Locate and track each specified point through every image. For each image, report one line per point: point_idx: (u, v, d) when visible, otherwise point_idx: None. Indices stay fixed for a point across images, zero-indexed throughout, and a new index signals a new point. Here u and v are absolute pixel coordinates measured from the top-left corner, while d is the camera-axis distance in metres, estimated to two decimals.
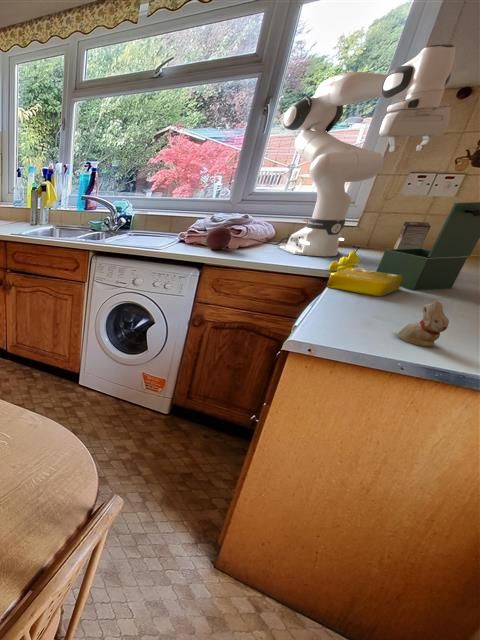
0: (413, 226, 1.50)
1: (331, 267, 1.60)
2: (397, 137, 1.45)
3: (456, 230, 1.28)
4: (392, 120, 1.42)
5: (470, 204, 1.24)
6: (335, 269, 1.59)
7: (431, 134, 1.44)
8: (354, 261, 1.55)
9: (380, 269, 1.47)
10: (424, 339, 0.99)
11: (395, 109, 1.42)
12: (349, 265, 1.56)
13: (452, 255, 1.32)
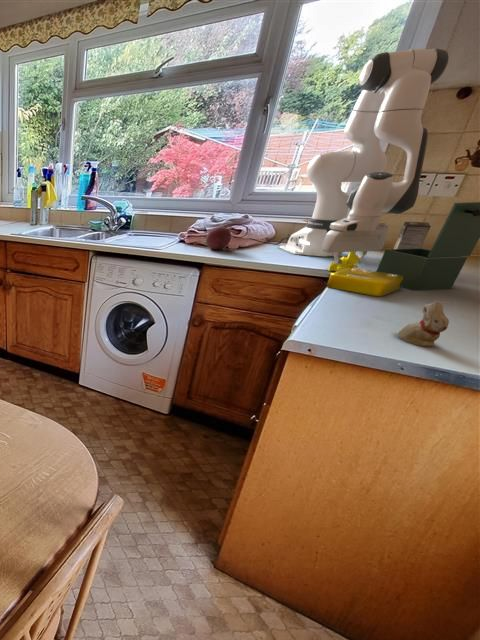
0: (413, 226, 1.50)
1: (331, 267, 1.60)
2: (340, 253, 1.55)
3: (456, 230, 1.28)
4: (332, 240, 1.52)
5: (470, 204, 1.24)
6: (335, 269, 1.59)
7: (368, 250, 1.54)
8: (354, 261, 1.55)
9: (380, 269, 1.47)
10: (424, 339, 0.99)
11: (336, 229, 1.51)
12: (349, 265, 1.56)
13: (452, 255, 1.32)
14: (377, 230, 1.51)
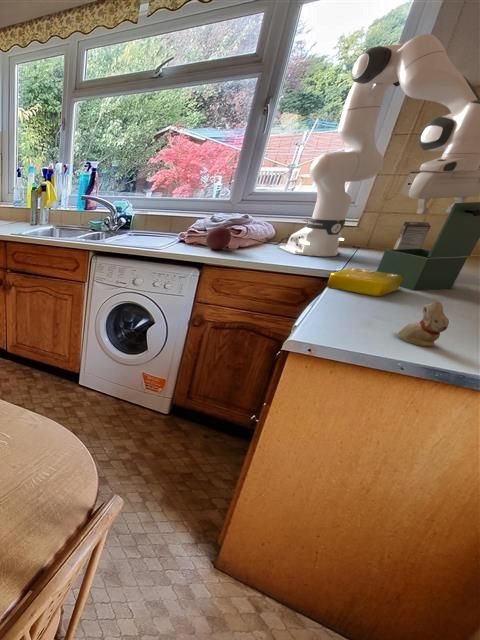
0: (413, 226, 1.50)
1: None
2: (427, 200, 1.32)
3: (456, 230, 1.28)
4: (424, 183, 1.29)
5: (470, 204, 1.24)
6: None
7: (465, 197, 1.32)
8: None
9: (380, 269, 1.47)
10: (424, 339, 0.99)
11: (429, 170, 1.29)
12: None
13: (452, 255, 1.32)
14: (478, 171, 1.28)
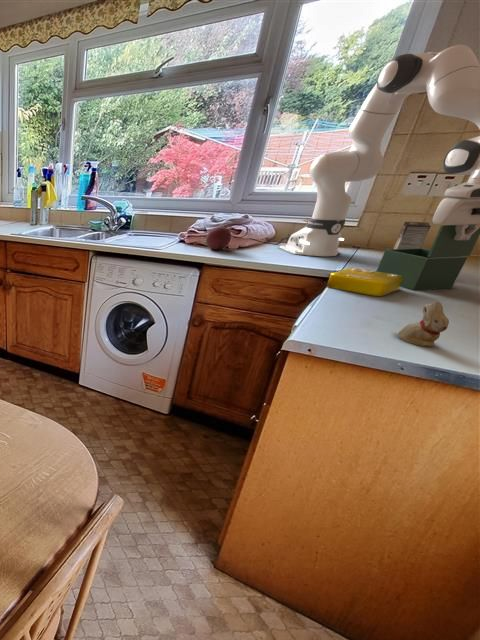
0: (413, 226, 1.50)
1: None
2: (466, 226, 1.26)
3: (454, 230, 1.28)
4: (450, 209, 1.23)
5: None
6: None
7: None
8: None
9: (380, 269, 1.47)
10: (424, 339, 0.99)
11: (455, 196, 1.22)
12: None
13: (452, 255, 1.32)
14: None
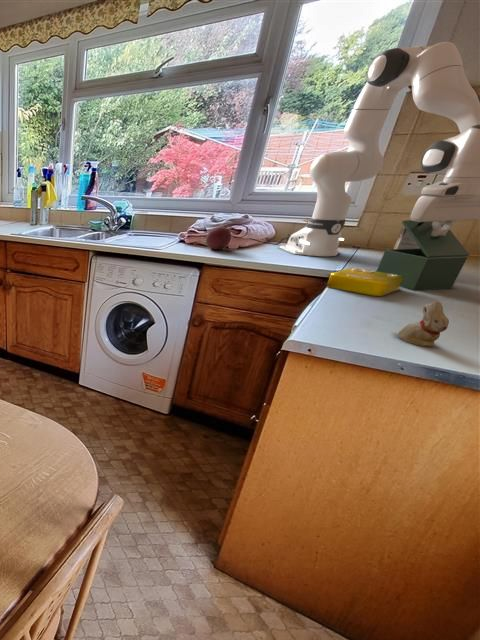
0: None
1: None
2: (442, 222, 1.32)
3: (428, 237, 1.35)
4: (426, 206, 1.29)
5: None
6: None
7: None
8: None
9: (380, 269, 1.47)
10: (424, 339, 0.99)
11: (431, 193, 1.29)
12: None
13: (451, 254, 1.32)
14: None
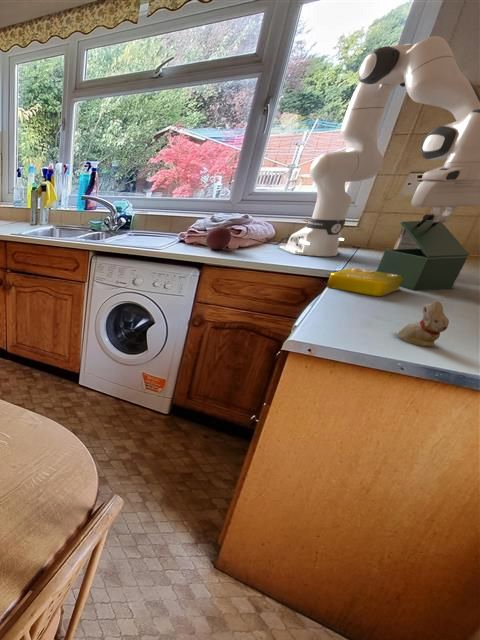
0: None
1: None
2: (443, 208, 1.31)
3: (428, 237, 1.36)
4: (427, 191, 1.28)
5: (415, 222, 1.39)
6: None
7: (468, 205, 1.31)
8: None
9: (380, 269, 1.47)
10: (424, 339, 0.99)
11: (432, 179, 1.28)
12: None
13: (451, 254, 1.32)
14: None
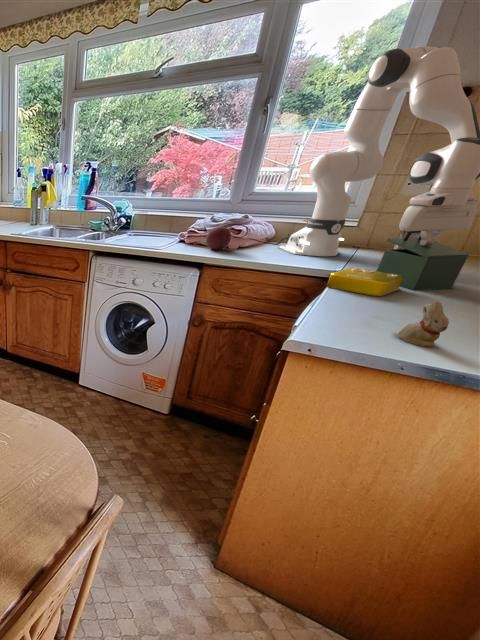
0: None
1: None
2: (430, 232, 1.35)
3: (419, 246, 1.38)
4: (414, 216, 1.32)
5: (401, 238, 1.44)
6: None
7: (454, 229, 1.35)
8: None
9: (380, 269, 1.47)
10: (424, 339, 0.99)
11: (418, 204, 1.32)
12: None
13: (450, 254, 1.32)
14: (466, 205, 1.32)
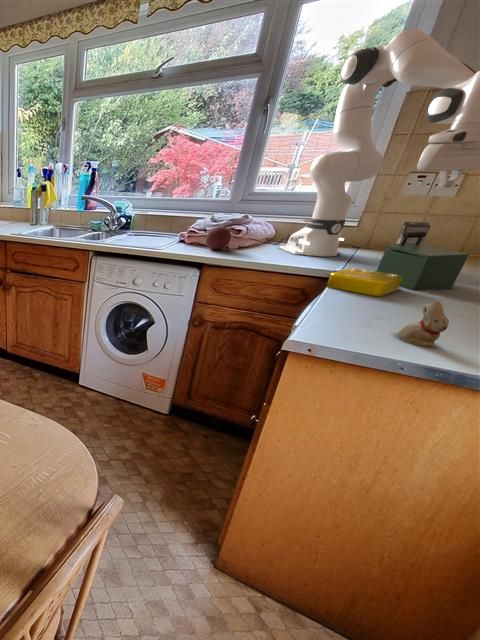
0: (413, 226, 1.50)
1: None
2: (449, 172, 1.29)
3: (418, 249, 1.39)
4: (433, 154, 1.26)
5: None
6: None
7: (475, 169, 1.29)
8: None
9: (380, 269, 1.47)
10: (424, 339, 0.99)
11: (438, 141, 1.26)
12: None
13: (450, 254, 1.32)
14: None
